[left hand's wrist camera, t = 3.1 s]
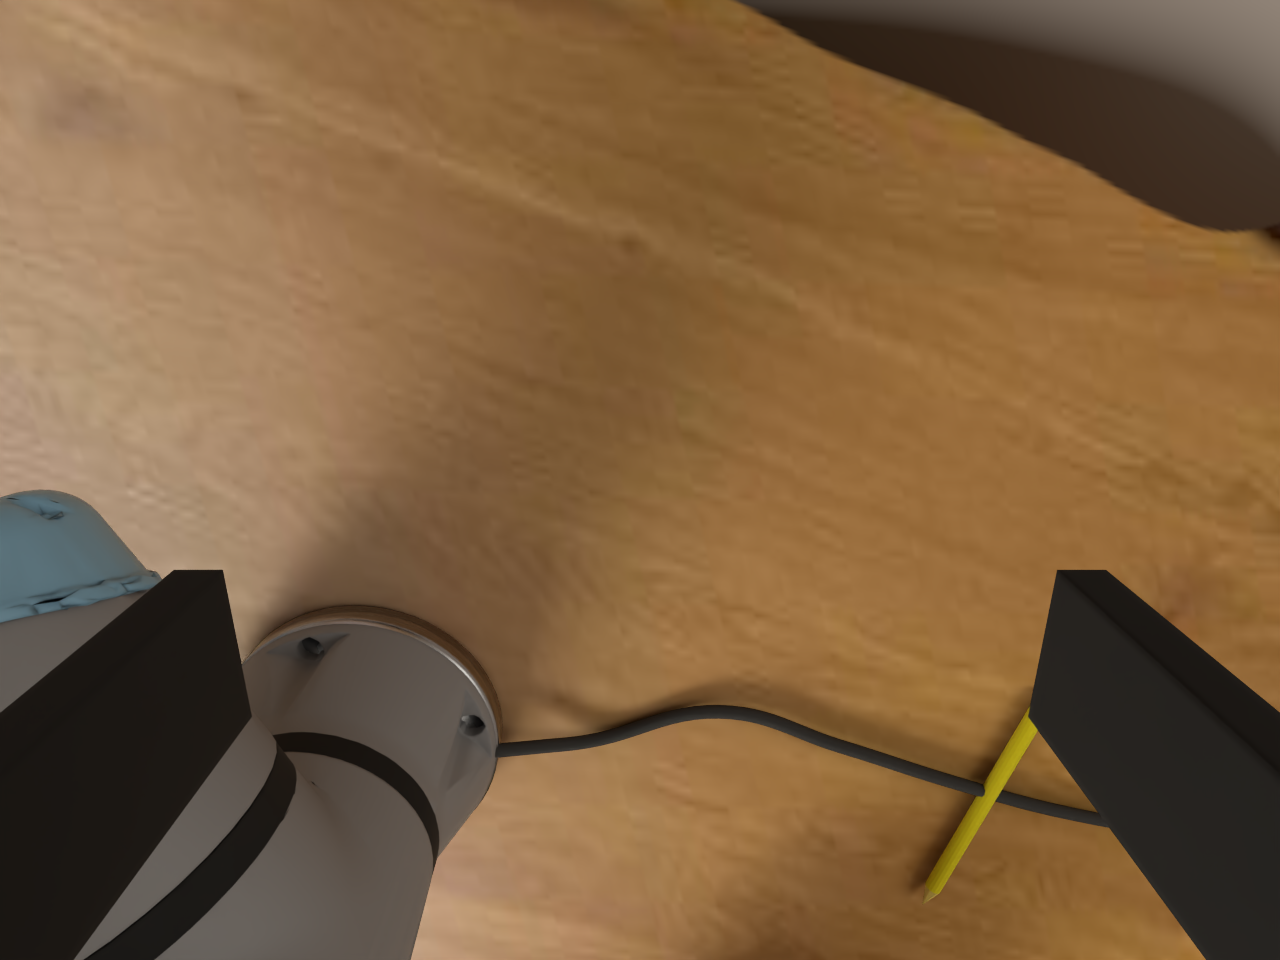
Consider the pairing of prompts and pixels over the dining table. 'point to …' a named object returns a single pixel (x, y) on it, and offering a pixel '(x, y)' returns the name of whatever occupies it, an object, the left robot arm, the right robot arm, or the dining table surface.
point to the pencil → (980, 807)
